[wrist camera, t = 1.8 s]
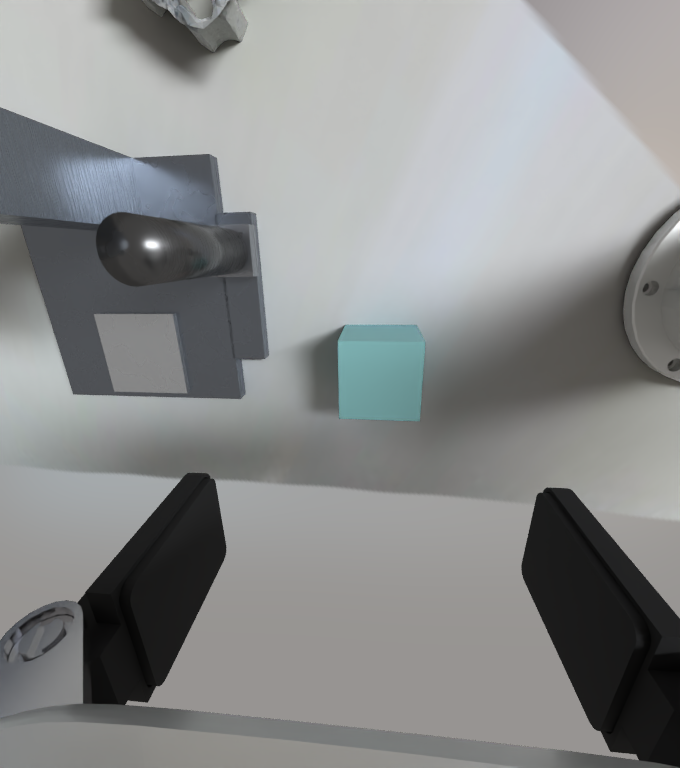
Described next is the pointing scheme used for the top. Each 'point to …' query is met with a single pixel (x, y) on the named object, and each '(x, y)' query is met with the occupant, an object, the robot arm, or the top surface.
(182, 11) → the egg carton
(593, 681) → the robot arm
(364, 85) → the top surface
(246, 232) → the lever
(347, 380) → the teal cube block
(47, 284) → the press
